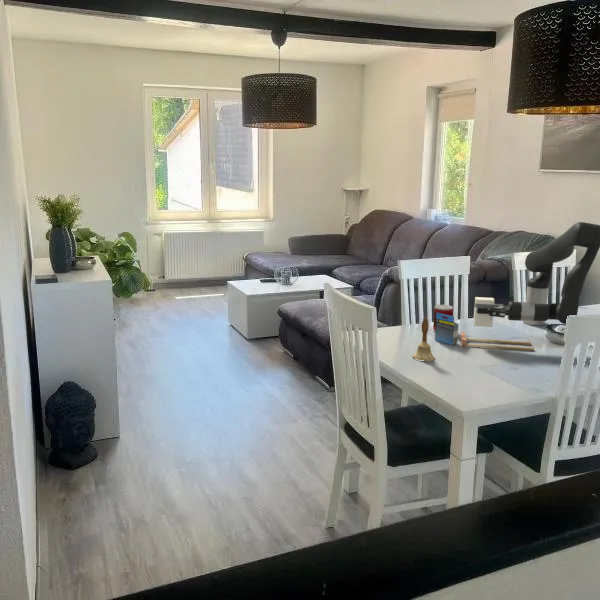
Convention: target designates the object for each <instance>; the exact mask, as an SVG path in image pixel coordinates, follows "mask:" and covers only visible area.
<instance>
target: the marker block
mask: <svg viewBox="0 0 600 600" xmlns="http://www.w3.org/2000/svg"><path fill="white" fill-rule="evenodd" d="M494 304H495V298H494V297H483V296H481V297H479V296H475V297H474V306H473V307H474V308H473V326H474V327H485V328H488V327H489V328H492V327H493V321H494V316H489V315H487V314H478V313H477V309H478V308H487V309H488V308H494Z"/></svg>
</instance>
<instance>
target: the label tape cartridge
mask: <svg viewBox="0 0 600 600" xmlns="http://www.w3.org/2000/svg"><path fill="white" fill-rule="evenodd" d="M442 316H443V317H444V316H445V317H447V318H448V319H445V318H442ZM458 334H459V323H457V322H455V316H454V315H453V316H450V315H446V314H441V313H437V312H436V327H435V331H434V341H435V340H436V341H435V342H438V341H439V343H443V344H446V343H447V345H451V346H454V345H457V344H458ZM456 343H457V344H456Z"/></svg>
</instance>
